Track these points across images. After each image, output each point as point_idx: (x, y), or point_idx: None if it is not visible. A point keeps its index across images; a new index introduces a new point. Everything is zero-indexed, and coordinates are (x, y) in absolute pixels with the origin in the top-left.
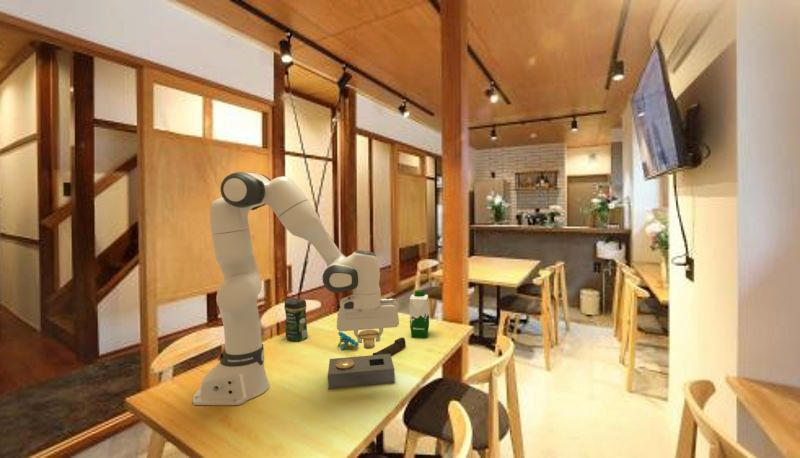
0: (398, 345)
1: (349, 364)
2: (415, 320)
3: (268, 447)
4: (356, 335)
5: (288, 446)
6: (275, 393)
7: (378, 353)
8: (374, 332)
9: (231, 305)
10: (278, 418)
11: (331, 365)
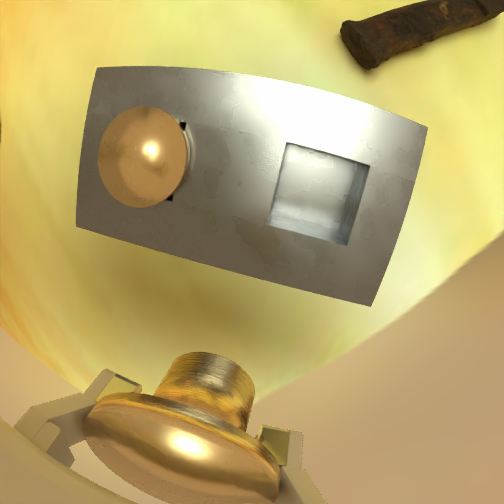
0: (480, 19)
1: (155, 188)
2: None
3: (46, 361)
4: (73, 436)
5: (70, 377)
6: (9, 180)
7: (373, 47)
8: (234, 494)
9: None
10: (32, 293)
11: (91, 141)
